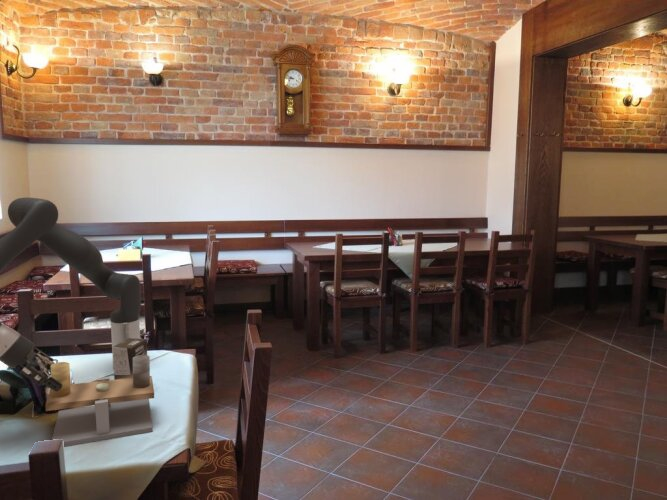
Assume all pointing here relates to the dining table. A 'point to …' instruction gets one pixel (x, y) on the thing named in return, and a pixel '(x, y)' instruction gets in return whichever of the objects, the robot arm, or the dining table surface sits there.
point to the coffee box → (127, 356)
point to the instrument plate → (100, 387)
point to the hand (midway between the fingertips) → (61, 382)
